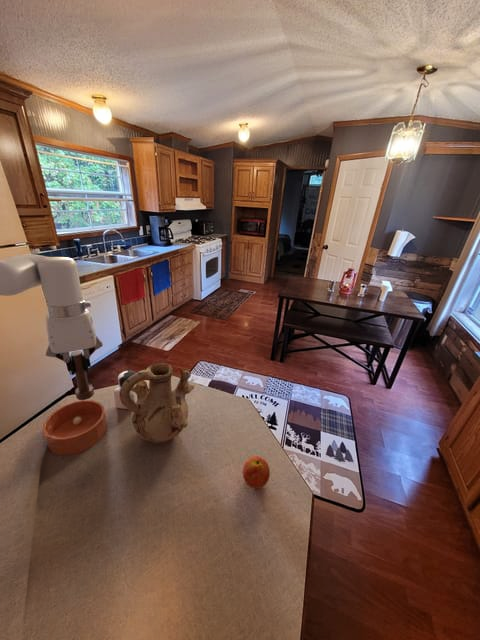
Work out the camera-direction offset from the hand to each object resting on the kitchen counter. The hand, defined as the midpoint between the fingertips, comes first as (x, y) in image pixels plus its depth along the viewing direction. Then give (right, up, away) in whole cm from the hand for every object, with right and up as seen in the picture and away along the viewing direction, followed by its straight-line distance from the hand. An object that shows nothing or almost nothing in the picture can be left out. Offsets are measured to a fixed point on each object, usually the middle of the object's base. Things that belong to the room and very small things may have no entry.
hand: (80, 370), depth 70 cm
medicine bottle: (+5, -16, +20) cm, 26 cm away
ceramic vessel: (+21, -22, +9) cm, 32 cm away
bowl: (-5, -20, +7) cm, 22 cm away
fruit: (+48, -29, -3) cm, 56 cm away
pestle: (-1, -8, +3) cm, 9 cm away
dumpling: (-6, -17, +9) cm, 21 cm away
